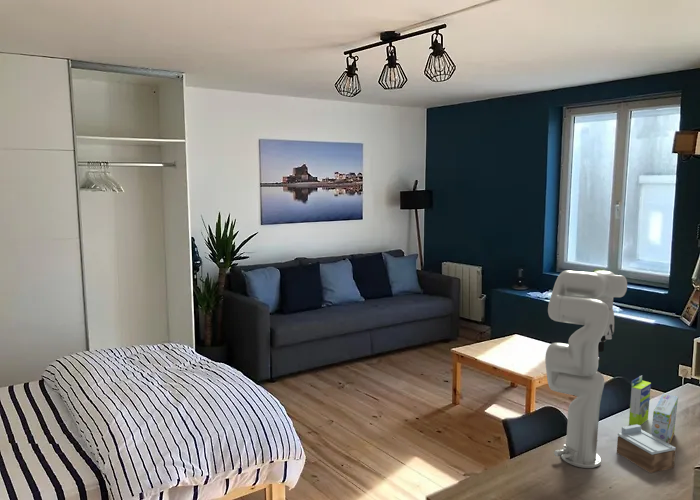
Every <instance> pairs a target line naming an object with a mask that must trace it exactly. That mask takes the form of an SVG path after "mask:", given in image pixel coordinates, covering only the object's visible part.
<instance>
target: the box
mask: <svg viewBox="0 0 700 500" xmlns="http://www.w3.org/2000/svg"><path fill="white" fill-rule="evenodd" d="M630 388H631V391H630V402H629V403H630V404H629V417H628V426H631V425H636V424H638V425H640V426H642V425H643V424H644V423H645V422H646V421H648V420H649V412H650V400H651V399H650V398H651V388H652V382H649V381H646V380H643V375H639V376H638V377H636V378H635V379H632V380H631V387H630Z"/></svg>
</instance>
